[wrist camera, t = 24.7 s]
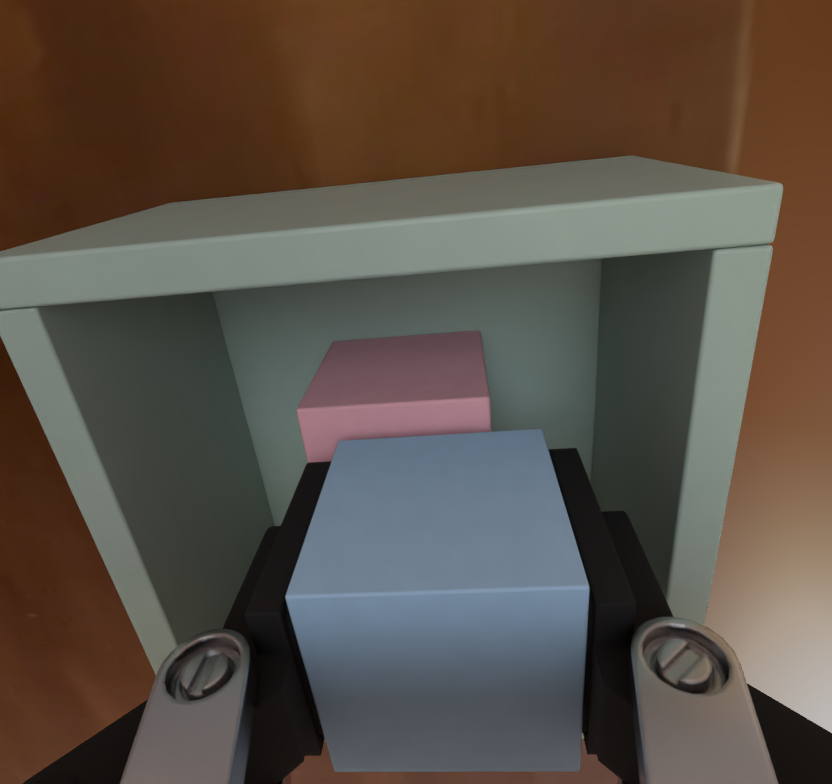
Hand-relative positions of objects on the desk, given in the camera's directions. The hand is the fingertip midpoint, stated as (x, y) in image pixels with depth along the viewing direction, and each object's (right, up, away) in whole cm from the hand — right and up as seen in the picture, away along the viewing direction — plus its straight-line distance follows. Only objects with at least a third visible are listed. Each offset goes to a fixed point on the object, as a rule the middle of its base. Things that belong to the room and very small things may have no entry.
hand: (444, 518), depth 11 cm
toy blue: (0, 0, 0) cm, 0 cm away
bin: (-1, +3, +5) cm, 5 cm away
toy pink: (-1, +2, +4) cm, 5 cm away
